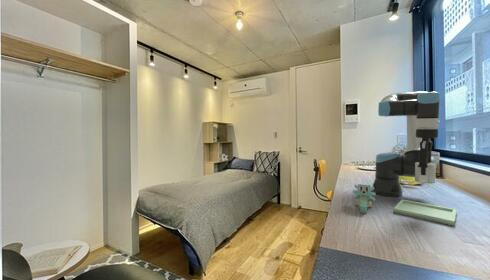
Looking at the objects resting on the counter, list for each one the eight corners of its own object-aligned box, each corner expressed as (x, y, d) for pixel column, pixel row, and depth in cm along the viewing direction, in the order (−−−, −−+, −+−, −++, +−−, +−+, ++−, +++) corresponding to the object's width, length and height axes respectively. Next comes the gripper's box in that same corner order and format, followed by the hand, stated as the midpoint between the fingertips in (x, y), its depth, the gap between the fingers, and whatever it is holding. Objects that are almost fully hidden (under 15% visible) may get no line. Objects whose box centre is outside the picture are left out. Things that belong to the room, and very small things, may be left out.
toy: (356, 212, 99) (349, 179, 105) (357, 216, 110) (350, 185, 116) (383, 211, 95) (374, 176, 101) (380, 214, 106) (372, 183, 112)
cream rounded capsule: (413, 181, 99) (413, 163, 98) (416, 178, 104) (416, 161, 103) (433, 184, 94) (434, 165, 93) (436, 181, 99) (436, 163, 98)
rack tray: (393, 212, 101) (393, 208, 101) (401, 203, 113) (401, 199, 113) (454, 226, 87) (454, 221, 86) (456, 213, 98) (456, 209, 98)
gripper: (435, 129, 87) (432, 187, 89) (440, 127, 101) (438, 177, 103) (411, 129, 93) (409, 183, 94) (420, 127, 107) (418, 175, 108)
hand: (424, 180), depth 99 cm, fingers closed on cream rounded capsule, 7 cm apart
